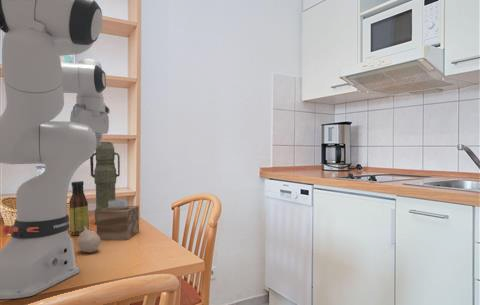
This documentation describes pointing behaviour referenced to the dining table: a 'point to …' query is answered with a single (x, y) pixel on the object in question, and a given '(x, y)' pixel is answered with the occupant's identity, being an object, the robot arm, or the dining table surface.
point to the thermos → (104, 174)
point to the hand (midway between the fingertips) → (90, 145)
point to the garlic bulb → (88, 241)
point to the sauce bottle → (78, 209)
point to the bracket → (117, 205)
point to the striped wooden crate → (117, 223)
